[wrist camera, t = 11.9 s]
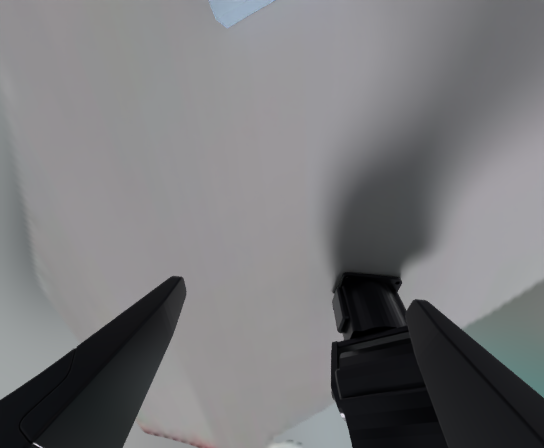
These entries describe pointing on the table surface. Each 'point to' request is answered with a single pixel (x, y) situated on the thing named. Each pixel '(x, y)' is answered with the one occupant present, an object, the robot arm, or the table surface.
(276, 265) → the table surface
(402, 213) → the table surface
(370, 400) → the robot arm
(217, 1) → the base slab
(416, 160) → the table surface
